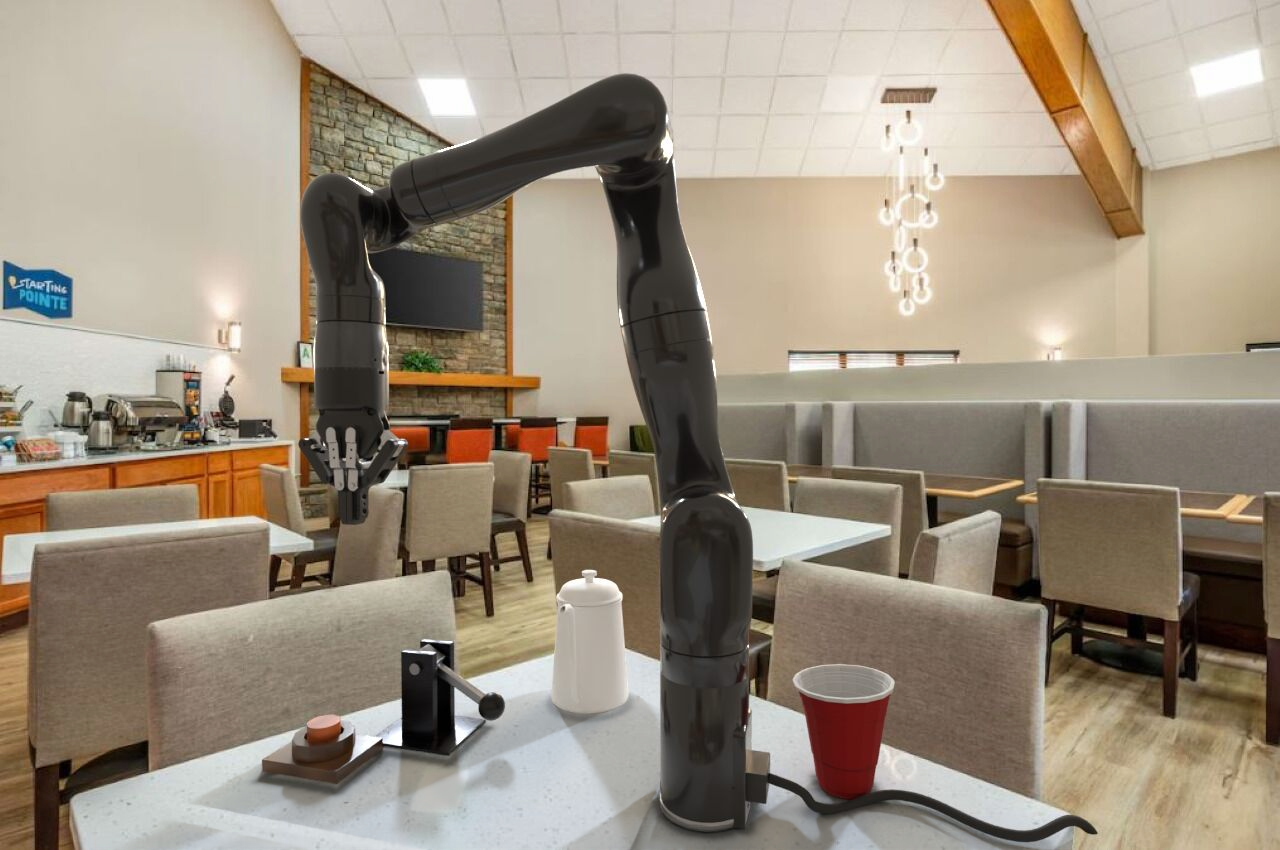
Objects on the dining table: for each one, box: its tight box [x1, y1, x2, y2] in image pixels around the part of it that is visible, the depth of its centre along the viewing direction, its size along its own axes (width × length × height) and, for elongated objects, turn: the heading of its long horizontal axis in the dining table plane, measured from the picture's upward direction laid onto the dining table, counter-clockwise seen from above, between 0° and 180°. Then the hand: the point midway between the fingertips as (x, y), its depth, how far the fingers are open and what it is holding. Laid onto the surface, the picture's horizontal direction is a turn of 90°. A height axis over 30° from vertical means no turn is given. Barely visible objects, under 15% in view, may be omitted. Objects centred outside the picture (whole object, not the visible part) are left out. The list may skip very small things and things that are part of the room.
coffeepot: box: [551, 569, 629, 714], centre depth 95 cm, size 11×25×19 cm, turn 168°
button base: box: [261, 720, 384, 785], centre depth 78 cm, size 10×8×4 cm
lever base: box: [374, 638, 487, 757], centre depth 85 cm, size 11×9×12 cm
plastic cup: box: [792, 663, 896, 800], centre depth 74 cm, size 11×11×12 cm
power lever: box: [417, 644, 506, 721], centre depth 83 cm, size 13×3×3 cm, turn 75°
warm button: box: [306, 714, 342, 742], centre depth 78 cm, size 4×4×2 cm
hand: (353, 523), depth 74 cm, fingers closed
